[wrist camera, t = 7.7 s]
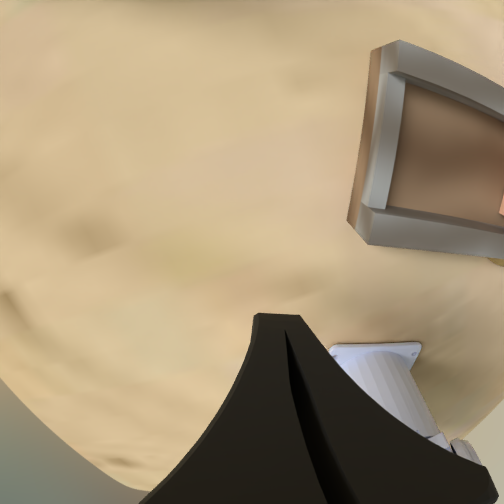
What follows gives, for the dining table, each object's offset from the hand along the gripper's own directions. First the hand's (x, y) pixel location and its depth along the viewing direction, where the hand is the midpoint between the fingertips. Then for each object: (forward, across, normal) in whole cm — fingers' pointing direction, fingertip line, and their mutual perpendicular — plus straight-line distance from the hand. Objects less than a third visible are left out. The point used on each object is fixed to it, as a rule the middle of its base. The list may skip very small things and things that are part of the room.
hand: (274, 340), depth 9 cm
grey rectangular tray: (+9, -18, -6) cm, 21 cm away
